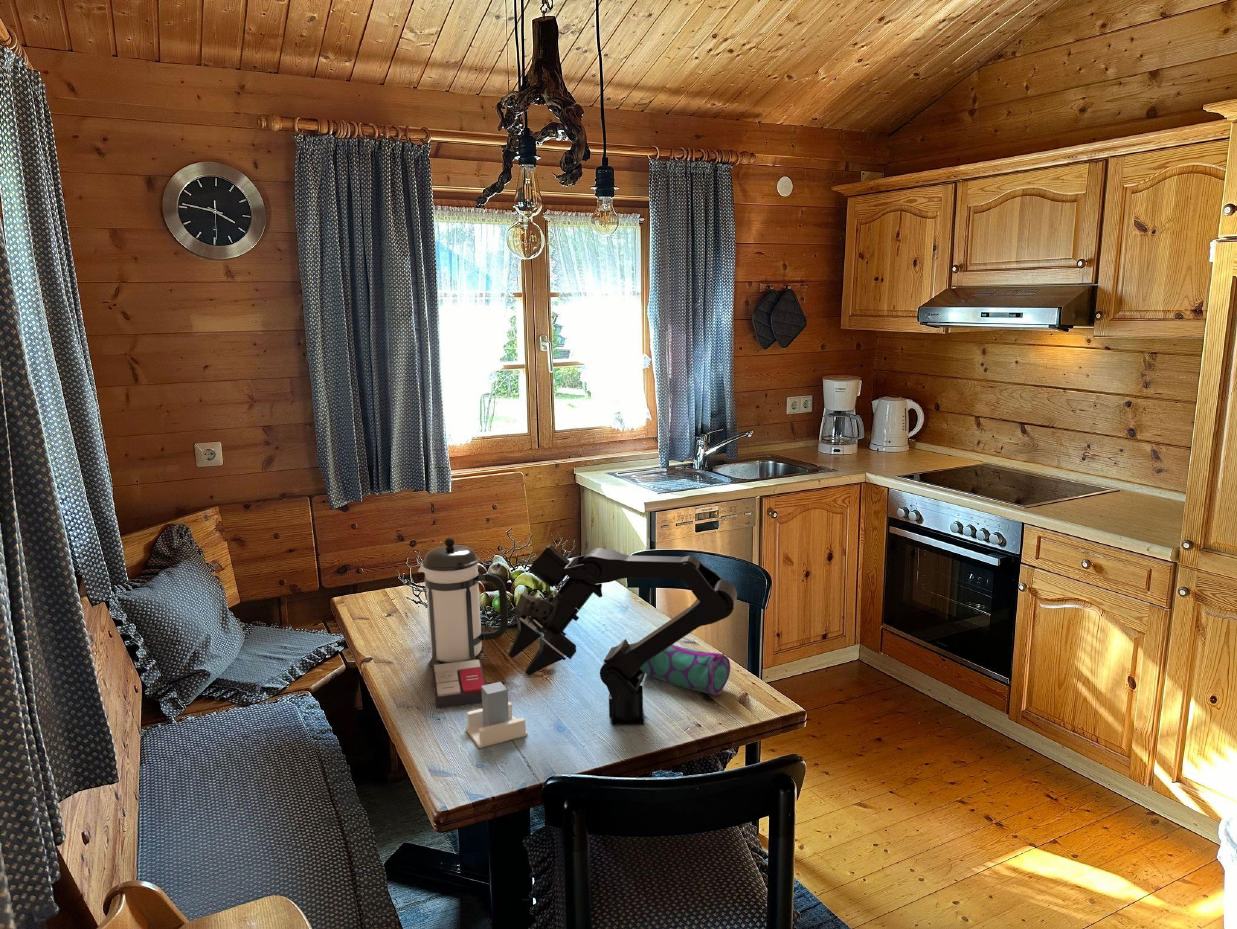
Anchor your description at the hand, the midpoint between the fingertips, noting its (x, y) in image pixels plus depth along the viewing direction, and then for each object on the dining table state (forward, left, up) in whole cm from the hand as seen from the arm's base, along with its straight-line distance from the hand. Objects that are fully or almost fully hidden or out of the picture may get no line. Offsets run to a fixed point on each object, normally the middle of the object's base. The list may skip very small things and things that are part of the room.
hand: (518, 665), depth 172 cm
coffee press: (+18, -35, -14) cm, 41 cm away
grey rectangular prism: (+5, +1, -13) cm, 14 cm away
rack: (+5, +1, -14) cm, 14 cm away
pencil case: (-34, -19, -14) cm, 41 cm away
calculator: (+15, -18, -14) cm, 28 cm away
